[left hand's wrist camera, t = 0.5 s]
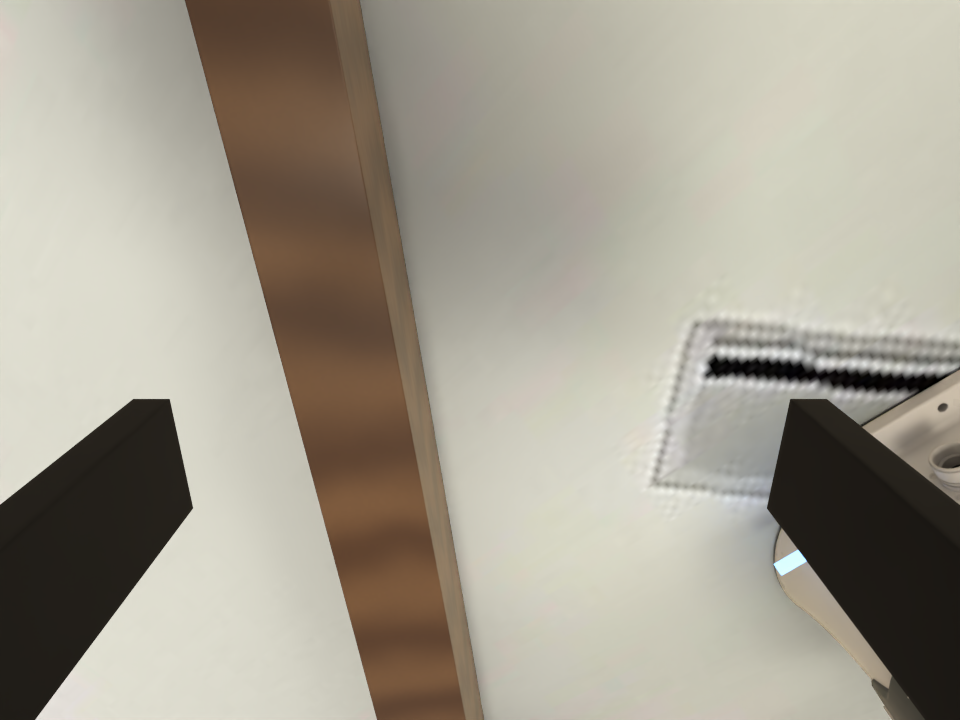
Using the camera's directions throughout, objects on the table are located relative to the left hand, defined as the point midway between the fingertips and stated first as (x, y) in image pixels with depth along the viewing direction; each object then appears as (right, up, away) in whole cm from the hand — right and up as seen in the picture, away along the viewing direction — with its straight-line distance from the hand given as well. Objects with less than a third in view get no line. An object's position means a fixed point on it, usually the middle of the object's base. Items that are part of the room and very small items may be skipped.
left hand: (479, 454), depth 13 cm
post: (-5, -11, +29) cm, 32 cm away
